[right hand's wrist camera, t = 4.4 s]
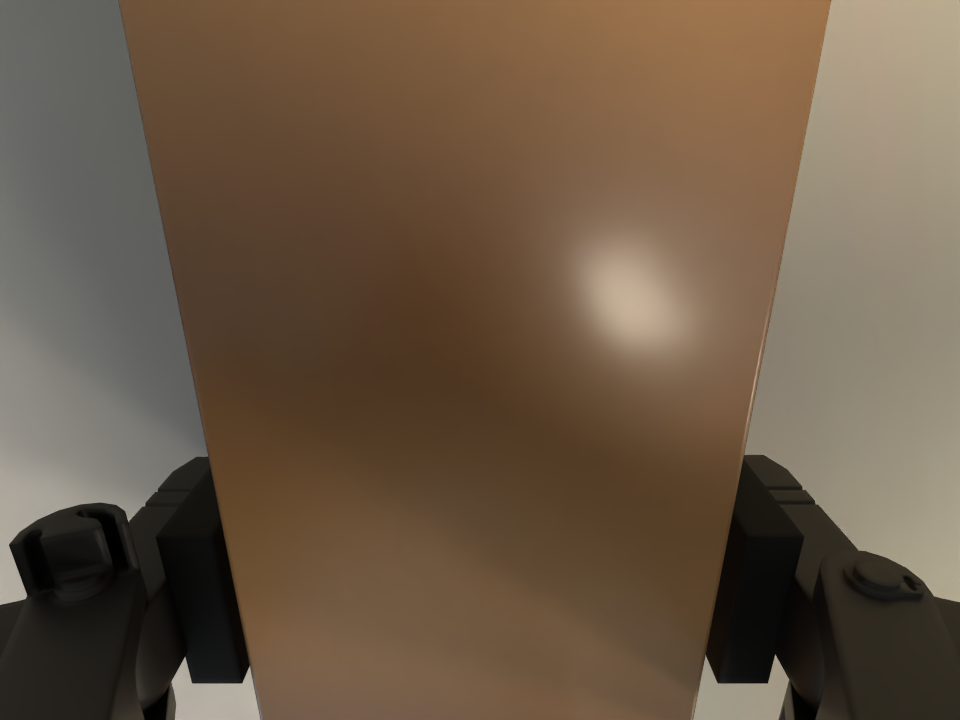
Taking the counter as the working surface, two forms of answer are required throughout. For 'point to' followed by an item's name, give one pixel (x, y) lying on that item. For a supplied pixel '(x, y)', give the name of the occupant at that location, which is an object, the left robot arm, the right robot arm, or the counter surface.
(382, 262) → the beam
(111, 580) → the right robot arm
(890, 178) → the counter surface
